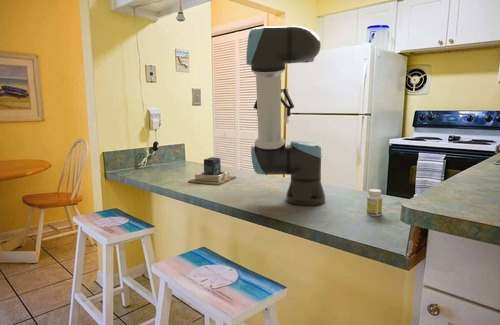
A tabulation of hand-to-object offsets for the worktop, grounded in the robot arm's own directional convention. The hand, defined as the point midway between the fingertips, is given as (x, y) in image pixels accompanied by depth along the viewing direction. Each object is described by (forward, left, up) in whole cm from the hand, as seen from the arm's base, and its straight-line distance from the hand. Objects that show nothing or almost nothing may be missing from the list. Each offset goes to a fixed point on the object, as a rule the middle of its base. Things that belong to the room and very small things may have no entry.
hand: (273, 123), depth 163 cm
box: (-10, +30, -28) cm, 42 cm away
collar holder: (-10, +30, -29) cm, 43 cm away
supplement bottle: (-38, -50, -29) cm, 69 cm away
